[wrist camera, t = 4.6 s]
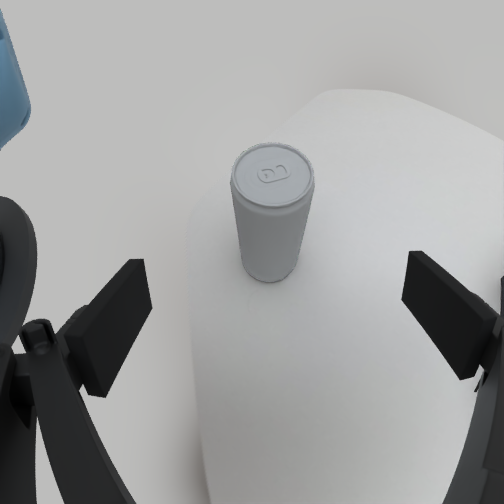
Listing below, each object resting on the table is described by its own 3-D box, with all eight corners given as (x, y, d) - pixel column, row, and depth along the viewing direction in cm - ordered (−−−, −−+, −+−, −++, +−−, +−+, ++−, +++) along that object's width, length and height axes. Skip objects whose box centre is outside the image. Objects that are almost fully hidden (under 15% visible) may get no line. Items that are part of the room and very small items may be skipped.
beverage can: (235, 243, 29) (219, 152, 18) (285, 227, 29) (296, 133, 18) (252, 291, 27) (244, 219, 16) (305, 274, 27) (331, 194, 16)
